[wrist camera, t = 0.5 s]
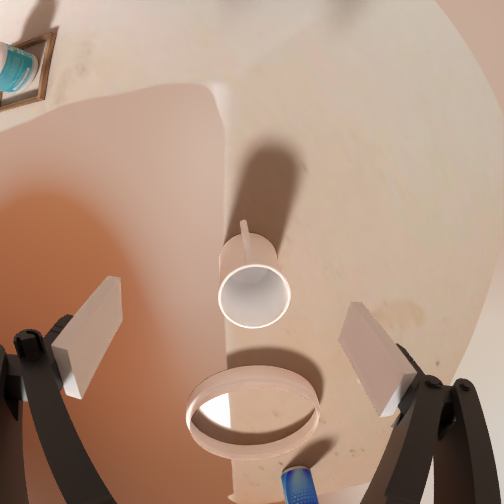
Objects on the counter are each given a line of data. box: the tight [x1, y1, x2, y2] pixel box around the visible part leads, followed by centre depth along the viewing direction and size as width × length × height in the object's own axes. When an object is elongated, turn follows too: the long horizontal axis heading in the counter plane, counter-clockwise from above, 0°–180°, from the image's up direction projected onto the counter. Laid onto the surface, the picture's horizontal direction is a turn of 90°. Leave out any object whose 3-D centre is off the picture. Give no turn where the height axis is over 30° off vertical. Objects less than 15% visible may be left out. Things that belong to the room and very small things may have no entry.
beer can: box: [281, 466, 319, 504], centre depth 57 cm, size 8×8×16 cm
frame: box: [0, 32, 56, 112], centre depth 29 cm, size 12×12×2 cm
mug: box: [218, 220, 291, 328], centre depth 37 cm, size 12×8×12 cm
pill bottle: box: [0, 42, 38, 93], centre depth 24 cm, size 8×7×14 cm
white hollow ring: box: [186, 365, 320, 460], centre depth 52 cm, size 27×27×6 cm
